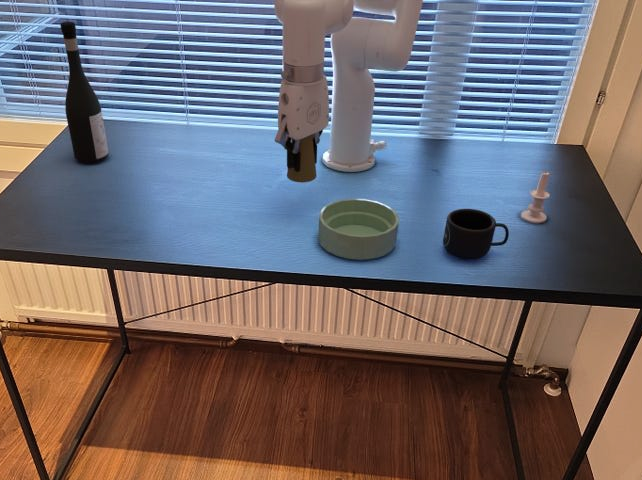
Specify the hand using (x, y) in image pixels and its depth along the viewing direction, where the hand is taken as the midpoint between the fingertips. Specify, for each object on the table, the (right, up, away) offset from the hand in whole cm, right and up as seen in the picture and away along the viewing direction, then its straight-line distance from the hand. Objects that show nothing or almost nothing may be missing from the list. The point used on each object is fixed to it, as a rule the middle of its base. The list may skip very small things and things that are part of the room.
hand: (301, 164), depth 133 cm
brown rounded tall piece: (0, -2, +2) cm, 2 cm away
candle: (+49, -9, +7) cm, 50 cm away
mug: (+33, -18, -4) cm, 38 cm away
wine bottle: (-50, +9, +27) cm, 58 cm away
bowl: (+11, -16, -2) cm, 19 cm away
